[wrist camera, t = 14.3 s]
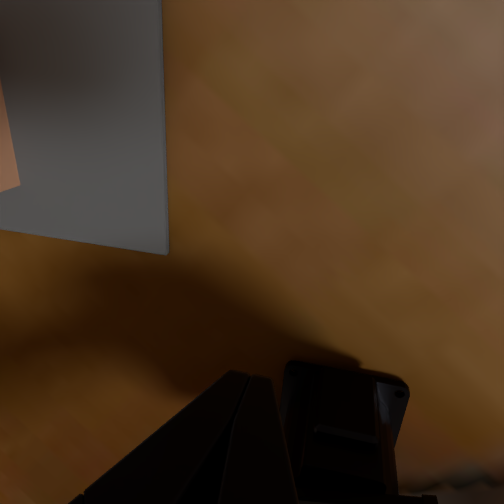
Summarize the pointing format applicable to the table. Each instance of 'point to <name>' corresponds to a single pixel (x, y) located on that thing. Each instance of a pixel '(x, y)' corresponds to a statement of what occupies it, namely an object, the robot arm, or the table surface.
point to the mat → (86, 121)
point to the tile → (6, 151)
